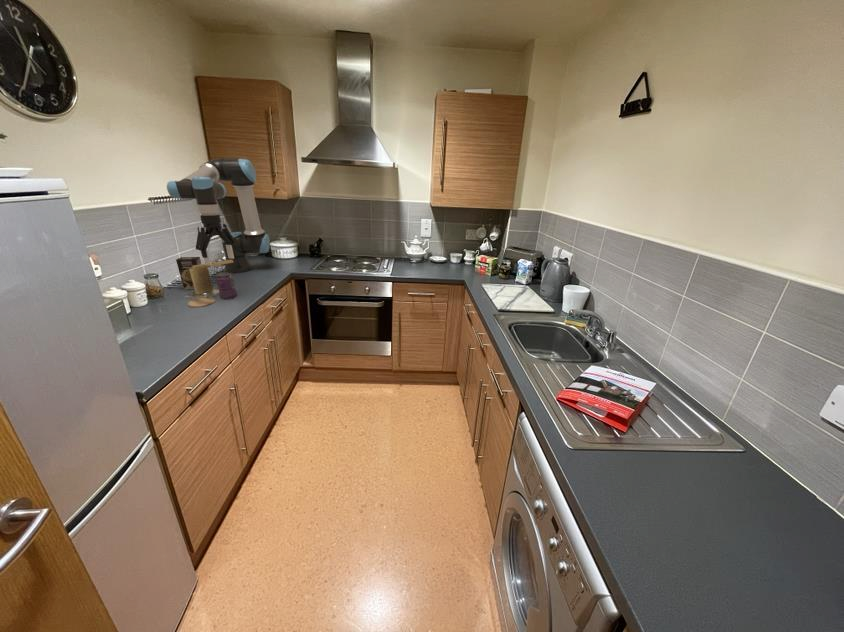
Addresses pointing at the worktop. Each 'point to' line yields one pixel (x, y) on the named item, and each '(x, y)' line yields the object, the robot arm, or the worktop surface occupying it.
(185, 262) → the coffee box
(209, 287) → the turnkey
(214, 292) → the key plate
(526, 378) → the worktop surface
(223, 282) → the purple glass
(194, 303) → the coaster
